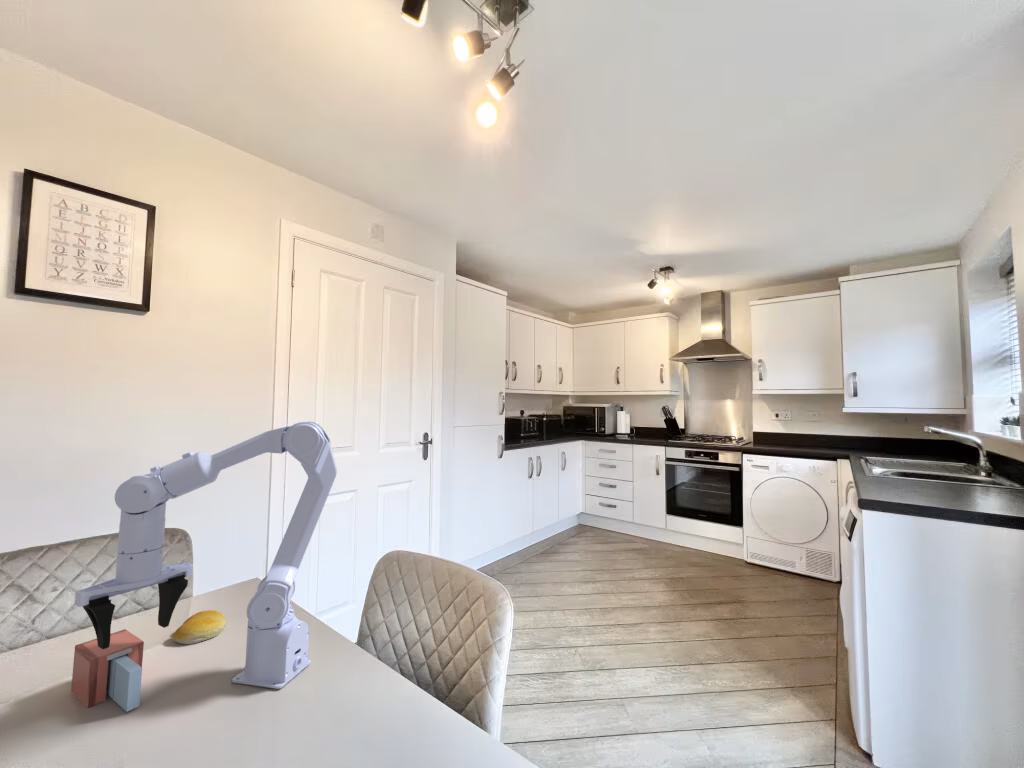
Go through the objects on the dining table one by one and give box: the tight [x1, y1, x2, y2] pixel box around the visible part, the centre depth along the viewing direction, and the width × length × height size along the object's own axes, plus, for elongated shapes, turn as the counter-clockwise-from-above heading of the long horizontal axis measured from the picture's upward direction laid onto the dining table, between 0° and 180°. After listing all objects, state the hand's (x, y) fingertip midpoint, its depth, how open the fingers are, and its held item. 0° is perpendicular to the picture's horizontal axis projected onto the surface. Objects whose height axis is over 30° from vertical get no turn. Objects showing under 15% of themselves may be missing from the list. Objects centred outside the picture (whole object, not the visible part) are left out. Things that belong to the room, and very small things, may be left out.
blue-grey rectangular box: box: [106, 655, 143, 713], centre depth 68 cm, size 13×2×6 cm, turn 59°
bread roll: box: [172, 609, 227, 645], centre depth 88 cm, size 8×9×4 cm
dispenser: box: [70, 629, 145, 708], centre depth 70 cm, size 8×6×7 cm
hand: (134, 635), depth 68 cm, fingers open, 7 cm apart
